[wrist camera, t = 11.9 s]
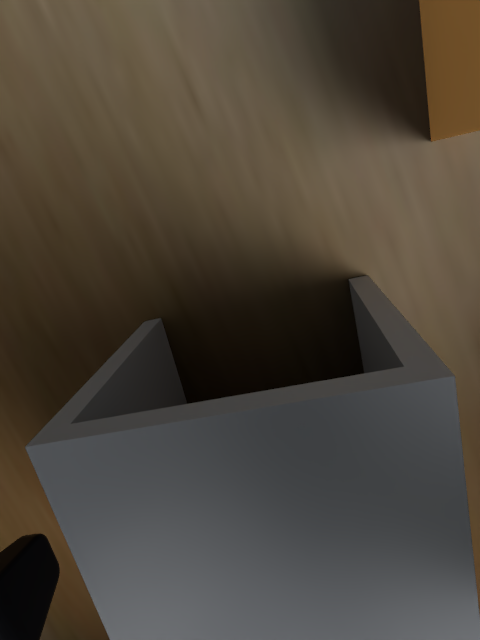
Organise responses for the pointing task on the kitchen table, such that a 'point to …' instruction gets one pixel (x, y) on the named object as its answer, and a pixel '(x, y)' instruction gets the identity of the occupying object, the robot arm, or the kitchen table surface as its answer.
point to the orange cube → (452, 65)
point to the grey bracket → (269, 496)
